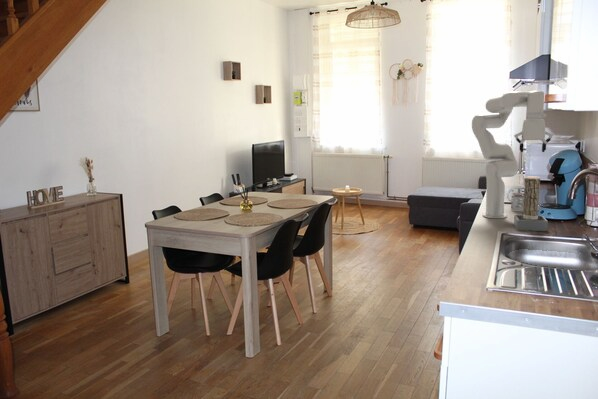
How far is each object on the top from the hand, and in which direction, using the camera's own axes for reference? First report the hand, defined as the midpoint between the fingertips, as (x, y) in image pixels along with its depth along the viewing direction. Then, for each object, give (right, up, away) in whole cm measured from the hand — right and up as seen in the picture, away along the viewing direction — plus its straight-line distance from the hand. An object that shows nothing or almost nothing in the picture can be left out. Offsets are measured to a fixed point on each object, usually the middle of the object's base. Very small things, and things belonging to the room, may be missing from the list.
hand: (532, 151), depth 243 cm
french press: (+15, -30, +52) cm, 61 cm away
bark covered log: (+1, -37, +6) cm, 38 cm away
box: (+1, -38, +6) cm, 38 cm away
